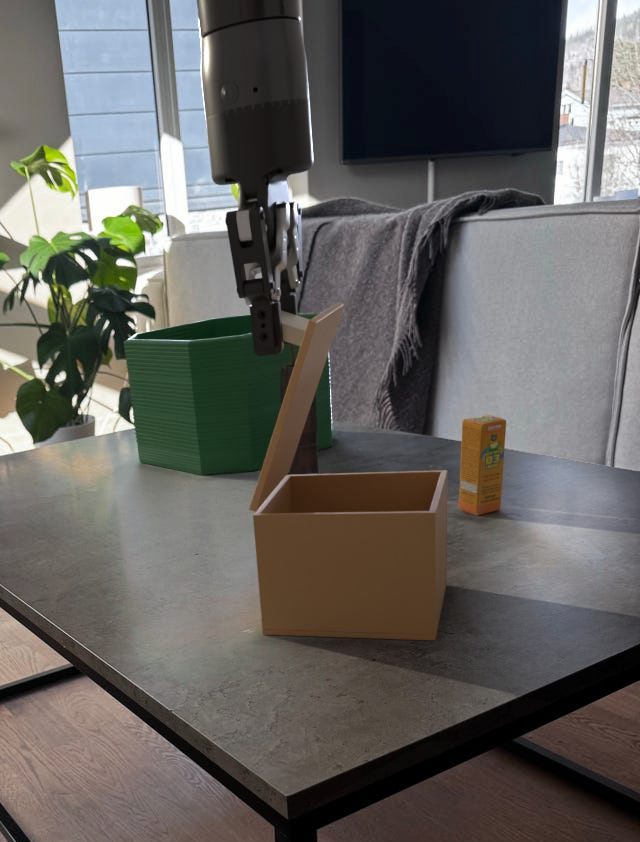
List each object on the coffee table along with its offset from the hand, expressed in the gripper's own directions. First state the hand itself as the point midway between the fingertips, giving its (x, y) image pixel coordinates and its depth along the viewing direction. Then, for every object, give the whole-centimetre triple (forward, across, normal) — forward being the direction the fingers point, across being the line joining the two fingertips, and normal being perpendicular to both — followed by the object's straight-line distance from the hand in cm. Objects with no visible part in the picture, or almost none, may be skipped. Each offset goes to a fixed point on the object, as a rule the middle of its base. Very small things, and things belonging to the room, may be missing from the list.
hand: (277, 347), depth 72 cm
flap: (+5, 0, -1) cm, 5 cm away
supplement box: (+23, +28, -14) cm, 39 cm away
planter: (+22, +61, +23) cm, 69 cm away
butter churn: (+22, +42, +8) cm, 48 cm away
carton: (+23, 0, -5) cm, 23 cm away
